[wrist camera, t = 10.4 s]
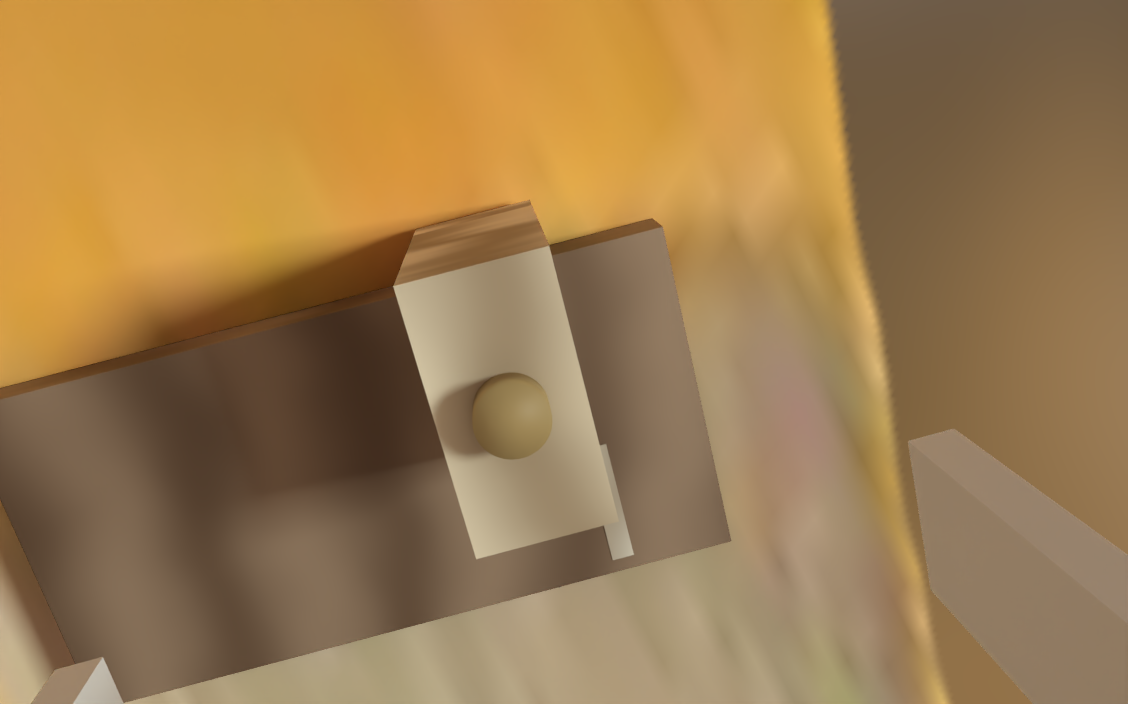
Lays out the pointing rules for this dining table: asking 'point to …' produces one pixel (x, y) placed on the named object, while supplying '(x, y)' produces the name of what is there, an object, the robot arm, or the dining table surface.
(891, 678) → the dining table surface
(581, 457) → the block
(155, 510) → the board
